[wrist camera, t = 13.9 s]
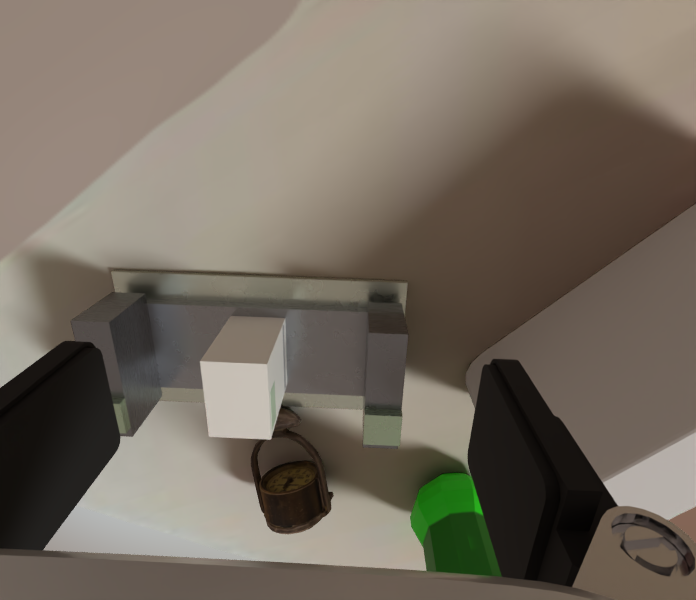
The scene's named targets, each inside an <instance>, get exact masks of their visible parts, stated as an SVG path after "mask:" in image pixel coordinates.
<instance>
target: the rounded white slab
mask: <svg viewBox="0 0 696 600" xmlns="http://www.w3.org/2000/svg"><path fill="white" fill-rule="evenodd" d="M493 359H513V360H518V361H519V362H520V363H521V365H522V366H523V368H524V369H525V371H526V373H527V374H528V376H529V377H530V379H531V380H532V382H533V383H534V385H535V387H536V388H537V390H538V391H539V393H540V394H541V396H542V397H543V399H544V401H545V402H546V404H547V405H548V407H549V408H550V410H551V411H552V413H553V415H554V416H556V417H559V418H560V419H561V420H562V422H563V423H564V424H565V426H566V427H567V429H568V431H569V432H570V434H571V435H572V437H573V438H574V440H575V441H576V443H577V444H578V446H579V447H580V449H581V450H582V452H583V453H584V455H585V456H586V458H587V459H588V461H589V462H590V464H591V465H592V467H593V469H594V470H595V472H596V473H597V475H598V476H599V478H600V479H601V481H602V482H603V484H604V485H605V487H606V488H607V490H608V491H609V493H610V494H611V496H612V497H613V499H614V500H615V502H616V503H617V505H618V506H632V507H636V508H641V509H645V510H647V511H650V512H652V513H655V514H657V515H660V516H661V517H663V518H665V519H666V520H669V519H671V518H673V517H675V516H677V515H679V514H681V513H683V512H685V511H687V510H689V509H691V508H693V507H695V506H696V204H694V205H693V206H691V207H690V208H688V209H687V210H686V211H684V212H683V213H681V214H680V215H678V216H677V217H676V218H674V219H673V220H671V221H670V222H668V223H667V224H666V225H664V226H663V227H661V228H660V229H658V230H657V231H656V232H654V233H653V234H651V235H650V236H648V237H647V238H646V239H644V240H643V241H641V242H640V243H638V244H637V245H636V246H634V247H633V248H631V249H630V250H628V251H627V252H626V253H624V254H623V255H621V256H620V257H618V258H617V259H616V260H614V261H613V262H611V263H610V264H608V265H607V266H606V267H604V268H603V269H601V270H600V271H598V272H597V273H596V274H594V275H593V276H591V277H590V278H588V279H587V280H586V281H584V282H583V283H581V284H580V285H578V286H577V287H576V288H574V289H573V290H571V291H570V292H568V293H567V294H566V295H564V296H563V297H561V298H560V299H558V300H557V301H556V302H554V303H553V304H551V305H550V306H548V307H547V308H546V309H544V310H543V311H541V312H540V313H538V314H537V315H536V316H534V317H533V318H531V319H530V320H528V321H527V322H526V323H524V324H523V325H521V326H520V327H518V328H517V329H516V330H514V331H513V332H511V333H510V334H508V335H507V336H506V337H504V338H503V339H501V340H500V341H498V342H497V343H496V344H494V345H493V346H491V347H490V348H488V349H487V350H486V351H484V352H483V353H481V354H480V355H479V356H478V357H477V358H476V359H475V360H474V361H473V362H472V363H471V365H470V367H469V368H468V370H467V372H466V386H467V389H468V392H469V394H470V397H471V399H472V402H473V405H474V407H475V408H476V402H477V396H478V391H479V385H480V379H481V373H482V368H483V366H484V365H485V364H490V363H491V361H492V360H493Z"/></svg>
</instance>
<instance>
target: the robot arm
mask: <svg viewBox="0 0 696 600" xmlns="http://www.w3.org/2000/svg"><path fill="white" fill-rule="evenodd" d="M119 444H120V432H119V428H118V423H117V419H116V414H115V410H114V405H113V400H112V396H111V391H110V387H109V382H108V378H107V373H106V369H105V364H104V360H103V355H102V352H101V350H100V349H98V348H96V347H95V345H94V344H93V343H91V342H81V341H64V342H62V343H61V344H59V345H58V346H57V347H55V348H54V349H52V350H51V351H50V352H48V353H47V354H46V355H44V356H43V357H42V358H40V359H39V360H38V361H36V362H35V363H34V364H32V365H31V366H29V367H28V368H27V369H25V370H24V371H23V372H21V373H20V374H19V375H17V376H16V377H15V378H13V379H12V380H11V381H9V382H8V383H6V384H5V385H4V386H2V387H1V388H0V600H696V544H695V543H694V541H693V540H692V539H691V538H690V537H689V536H688V535H687V534H686V533H685V532H683V531H682V530H681V529H680V528H678V527H677V526H676V525H675V524H673V523H671V522H670V521H668V520H666V519H665V518H663V517H661V516H660V515H657V514H655V513H652V512H650V511H647V510H645V509H641V508H636V507H632V506H618V505H617V503H616V502H615V500H614V499H613V497H612V496H611V494H610V493H609V491H608V490H607V488H606V487H605V485H604V484H603V482H602V481H601V479H600V478H599V476H598V475H597V473H596V472H595V470H594V469H593V467H592V465H591V464H590V462H589V461H588V459H587V458H586V456H585V455H584V453H583V452H582V450H581V449H580V447H579V446H578V444H577V443H576V441H575V440H574V438H573V437H572V435H571V434H570V432H569V431H568V429H567V427H566V426H565V424H564V423H563V422H562V420H561V419H560V418H559V417H556V416H554V415H553V413H552V411H551V410H550V408H549V407H548V405H547V404H546V402H545V401H544V399H543V397H542V396H541V394H540V393H539V391H538V390H537V388H536V387H535V385H534V383H533V382H532V380H531V379H530V377H529V376H528V374H527V373H526V371H525V369H524V368H523V366H522V365H521V363H520V362H519V361H518V360H513V359H493V360H492V361H491V363H490V364H485V365H484V366H483V368H482V373H481V379H480V385H479V391H478V396H477V402H476V408H475V414H474V420H473V425H472V431H471V437H470V443H469V448H468V465H469V469H470V473H471V476H472V479H473V483H474V486H475V489H476V493H477V496H478V499H479V503H480V506H481V509H482V513H483V516H484V519H485V522H486V526H487V529H488V532H489V536H490V539H491V542H492V546H493V549H494V552H495V556H496V559H497V562H498V566H499V569H500V572H501V575H502V577H498V576H485V575H472V574H459V573H446V572H432V571H419V570H405V569H387V568H370V567H353V566H335V565H318V564H301V563H283V562H265V561H246V560H226V559H208V558H189V557H168V556H150V555H130V554H129V555H128V554H110V553H88V552H66V551H44V550H43V549H44V548H45V546H46V545H47V544H48V542H49V541H50V539H51V538H52V537H53V535H54V534H55V533H56V531H57V530H58V529H59V528H60V526H61V525H62V523H63V522H64V521H65V519H66V518H67V517H68V515H69V514H70V513H71V511H72V510H73V509H74V507H75V506H76V505H77V503H78V502H79V501H80V499H81V498H82V497H83V495H84V494H85V493H86V491H87V490H88V489H89V487H90V486H91V485H92V483H93V482H94V481H95V479H96V478H97V477H98V475H99V474H100V473H101V471H102V470H103V469H104V467H105V466H106V465H107V463H108V462H109V460H110V459H111V458H112V456H113V455H114V454H115V452H116V451H117V449H118V447H119Z"/></svg>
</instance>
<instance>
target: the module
mask: <svg viewBox="0 0 696 600" xmlns="http://www.w3.org/2000/svg"><path fill="white" fill-rule="evenodd" d="M200 366H201V375H202V383H203V391H204V400H205V408H206V416H207V425H208V433H209V437H224V438H246V439H267V440H271V438H272V434H273V431H274V427H275V424H276V420H277V417H278V414H279V410H280V407H281V403H282V400H283V396H284V393H285V389H286V386H287V357H286V323H285V318H271V317H246V316H230V318H229V319H228V321H227V322H226V324H225V325H224V326H223V328H222V329H221V331H220V332H219V334H218V335H217V337H216V338H215V340H214V341H213V343H212V344H211V346H210V347H209V349H208V350H207V352H206V353H205V354H204V356H203V357H202V359H201V360H200Z"/></svg>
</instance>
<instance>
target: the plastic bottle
mask: <svg viewBox="0 0 696 600" xmlns="http://www.w3.org/2000/svg"><path fill="white" fill-rule="evenodd" d="M410 519H411V527H412V529H413V530H414V532H415V534H416V536H417V538H418V539H419V541H420V543H421V545H422V546H423V548H424V555H425V562H426V569H427V571H432V572H446V573H459V574H472V575H485V576H498V577H502V575H501V572H500V569H499V566H498V562H497V559H496V556H495V552H494V549H493V546H492V542H491V539H490V536H489V532H488V529H487V526H486V522H485V519H484V516H483V513H482V509H481V506H480V503H479V499H478V496H477V493H476V489H475V486H474V483H473V479H472V477H471V476H469V475H467V474H464V473H460V474H459V473H446V474H442V475H440V476H438V477H437V478H435V479H433V480H432V481H430V482H429V483H427V484H426V485H424V486H423V487H422V488H421V489H419V492H418V495H417V498H416V501H415V504H414V507H413V510H412V513H411V516H410Z"/></svg>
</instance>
